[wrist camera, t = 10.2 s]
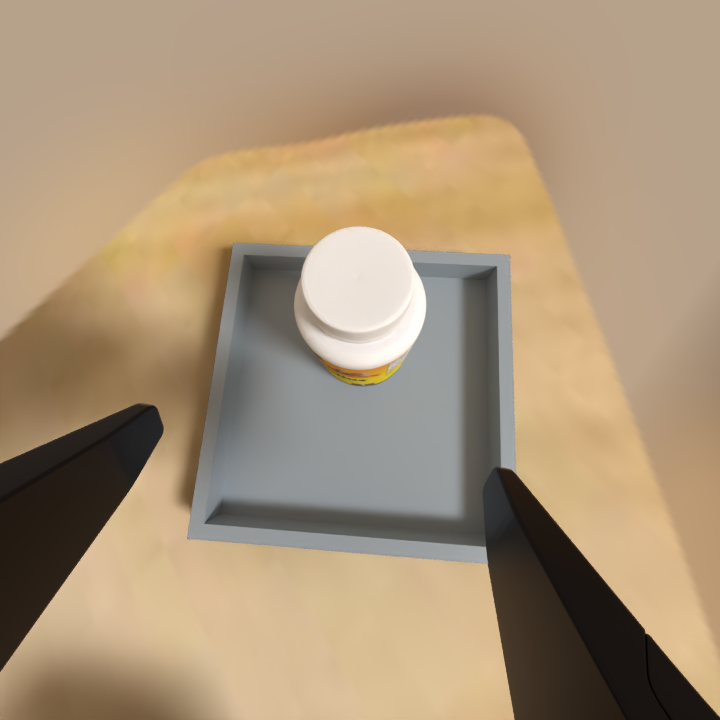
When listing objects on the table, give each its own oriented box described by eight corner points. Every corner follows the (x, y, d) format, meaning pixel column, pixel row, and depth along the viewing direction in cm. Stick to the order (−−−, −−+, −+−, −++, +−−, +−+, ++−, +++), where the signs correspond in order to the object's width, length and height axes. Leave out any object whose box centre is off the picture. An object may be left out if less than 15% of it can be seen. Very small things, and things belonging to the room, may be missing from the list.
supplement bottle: (303, 350, 21) (242, 283, 11) (359, 290, 21) (350, 175, 11) (367, 407, 20) (364, 391, 10) (423, 342, 21) (473, 267, 11)
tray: (499, 547, 19) (518, 566, 16) (209, 523, 19) (186, 538, 17) (494, 273, 22) (509, 254, 20) (247, 262, 23) (233, 242, 20)
